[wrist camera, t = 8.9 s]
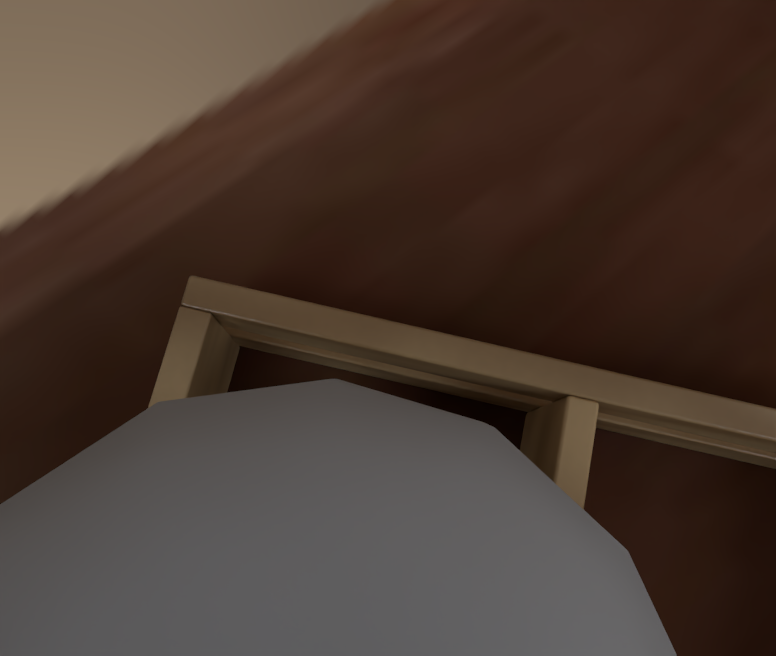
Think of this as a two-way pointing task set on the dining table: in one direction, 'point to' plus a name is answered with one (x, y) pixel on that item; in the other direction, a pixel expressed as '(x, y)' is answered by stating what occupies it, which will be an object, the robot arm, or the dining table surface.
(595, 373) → the rack
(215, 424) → the salt shaker
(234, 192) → the dining table surface
